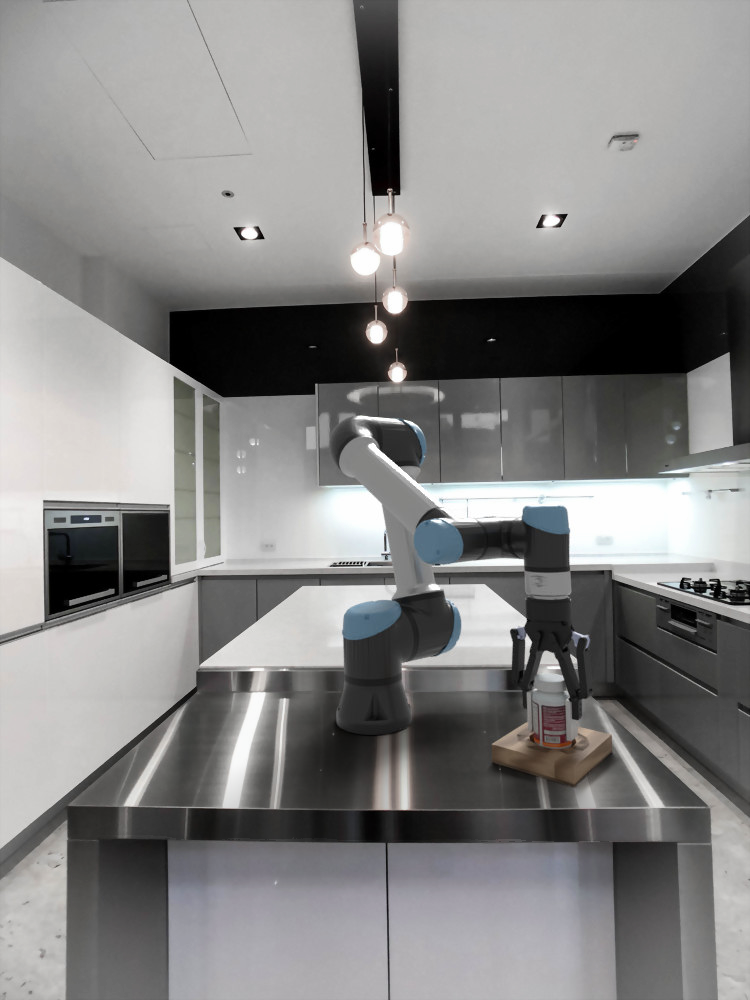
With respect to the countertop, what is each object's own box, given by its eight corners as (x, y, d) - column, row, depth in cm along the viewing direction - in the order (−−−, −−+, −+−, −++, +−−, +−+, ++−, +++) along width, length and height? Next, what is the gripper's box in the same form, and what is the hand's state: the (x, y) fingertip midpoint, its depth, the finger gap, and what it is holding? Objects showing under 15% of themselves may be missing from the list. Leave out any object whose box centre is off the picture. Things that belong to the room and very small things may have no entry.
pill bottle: (579, 746, 96) (577, 678, 96) (555, 755, 93) (553, 685, 93) (550, 734, 101) (547, 670, 101) (525, 743, 98) (523, 676, 98)
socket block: (492, 762, 96) (491, 744, 96) (535, 732, 108) (535, 716, 108) (574, 787, 86) (573, 767, 86) (612, 752, 98) (611, 734, 98)
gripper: (487, 594, 101) (491, 726, 101) (596, 603, 88) (601, 755, 88) (507, 589, 107) (511, 714, 106) (613, 597, 94) (618, 740, 93)
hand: (552, 732), depth 97 cm, fingers closed on pill bottle, 6 cm apart
